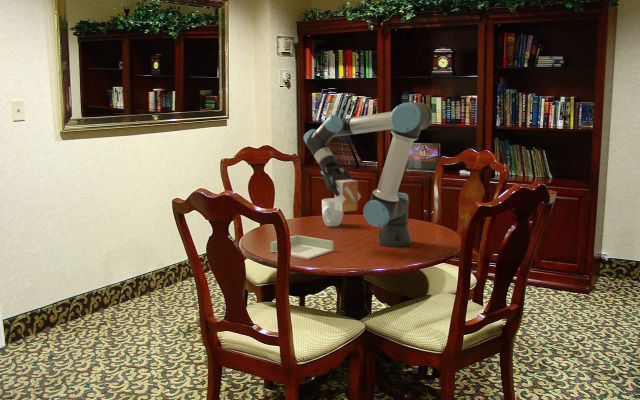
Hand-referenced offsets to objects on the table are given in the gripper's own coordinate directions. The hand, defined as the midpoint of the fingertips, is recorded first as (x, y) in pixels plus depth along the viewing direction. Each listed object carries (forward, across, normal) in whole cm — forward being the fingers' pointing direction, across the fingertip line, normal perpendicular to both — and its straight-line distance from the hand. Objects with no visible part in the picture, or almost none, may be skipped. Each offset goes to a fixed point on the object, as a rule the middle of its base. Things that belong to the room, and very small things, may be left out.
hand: (351, 200), depth 288 cm
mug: (-13, -28, -44) cm, 53 cm away
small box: (+1, 0, -6) cm, 6 cm away
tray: (+8, +20, -22) cm, 31 cm away
